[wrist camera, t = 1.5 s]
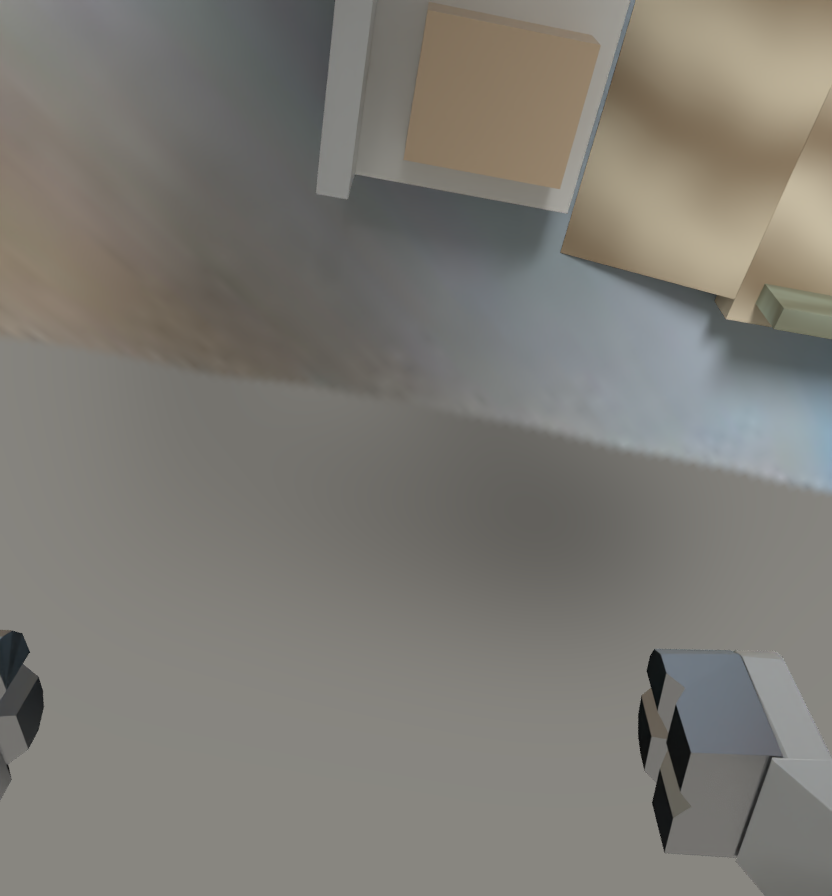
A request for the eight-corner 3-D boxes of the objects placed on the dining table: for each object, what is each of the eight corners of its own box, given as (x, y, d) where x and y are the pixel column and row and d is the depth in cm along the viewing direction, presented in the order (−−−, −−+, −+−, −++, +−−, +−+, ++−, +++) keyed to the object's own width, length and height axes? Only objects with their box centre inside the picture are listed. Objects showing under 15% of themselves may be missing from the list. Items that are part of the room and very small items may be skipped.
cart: (358, -72, 30) (340, -59, 25) (614, -18, 31) (650, 5, 25) (335, 144, 35) (315, 193, 29) (557, 186, 35) (577, 241, 30)
